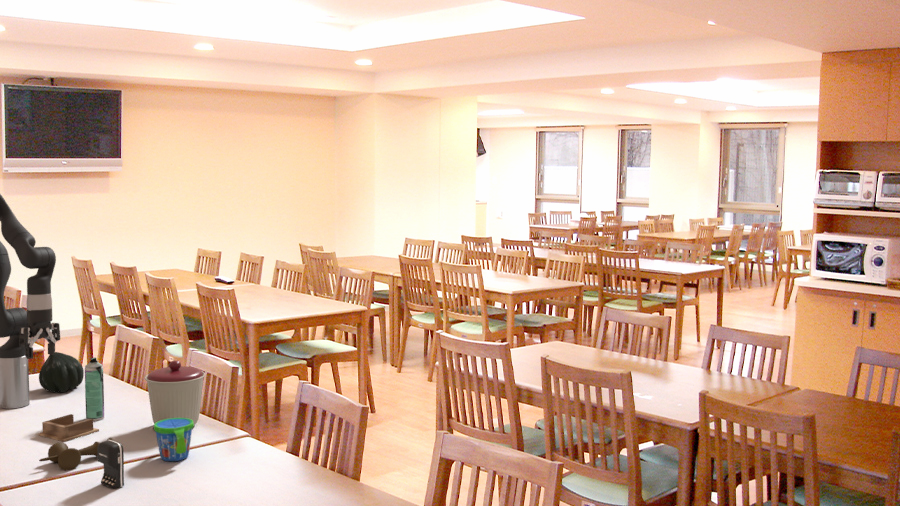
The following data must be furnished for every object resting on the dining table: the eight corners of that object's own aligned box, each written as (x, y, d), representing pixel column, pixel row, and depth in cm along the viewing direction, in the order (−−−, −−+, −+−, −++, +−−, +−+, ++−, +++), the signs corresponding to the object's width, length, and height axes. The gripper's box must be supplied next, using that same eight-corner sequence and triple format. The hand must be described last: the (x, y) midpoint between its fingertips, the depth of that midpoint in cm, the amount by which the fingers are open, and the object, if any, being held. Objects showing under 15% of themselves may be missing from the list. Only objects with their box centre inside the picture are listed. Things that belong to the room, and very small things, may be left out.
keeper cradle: (38, 435, 249) (38, 422, 249) (73, 425, 260) (73, 412, 260) (64, 441, 244) (64, 428, 243) (99, 431, 254) (98, 418, 254)
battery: (96, 484, 211) (94, 441, 210) (109, 480, 214) (108, 437, 213) (111, 491, 207) (110, 447, 206) (125, 486, 210) (124, 443, 209)
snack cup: (151, 451, 236) (150, 417, 235) (189, 447, 241) (189, 413, 240) (158, 469, 222) (157, 433, 221) (198, 464, 227) (197, 428, 226)
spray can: (107, 416, 269) (106, 356, 267) (98, 421, 264) (97, 360, 262) (91, 415, 270) (90, 355, 268) (82, 420, 264) (80, 359, 263)
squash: (97, 373, 303) (76, 341, 306) (63, 384, 290) (41, 350, 292) (78, 395, 309) (57, 363, 311) (44, 406, 295) (22, 373, 298)
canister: (159, 439, 247) (158, 370, 245) (136, 424, 261) (135, 359, 259) (215, 427, 259) (214, 361, 257) (191, 414, 273) (190, 352, 271)
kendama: (121, 460, 231) (45, 475, 217) (107, 452, 238) (33, 467, 224) (120, 439, 230) (45, 453, 216) (106, 432, 237) (32, 445, 223)
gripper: (48, 305, 279) (49, 352, 279) (12, 309, 265) (13, 359, 266) (65, 305, 276) (66, 353, 277) (29, 310, 263) (31, 360, 263)
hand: (40, 356), depth 271 cm, fingers open, 8 cm apart
